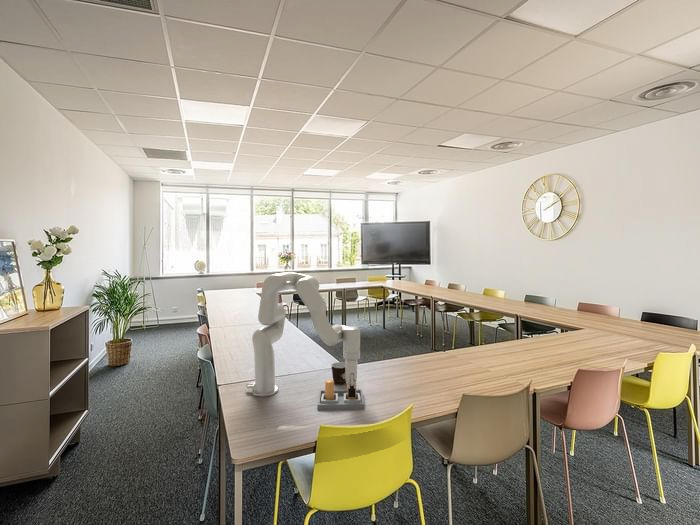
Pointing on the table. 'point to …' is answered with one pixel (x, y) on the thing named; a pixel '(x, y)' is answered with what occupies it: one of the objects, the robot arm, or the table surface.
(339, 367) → the coffee mug
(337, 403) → the grey pin holder tray
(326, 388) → the pin
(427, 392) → the table surface
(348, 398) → the pin
